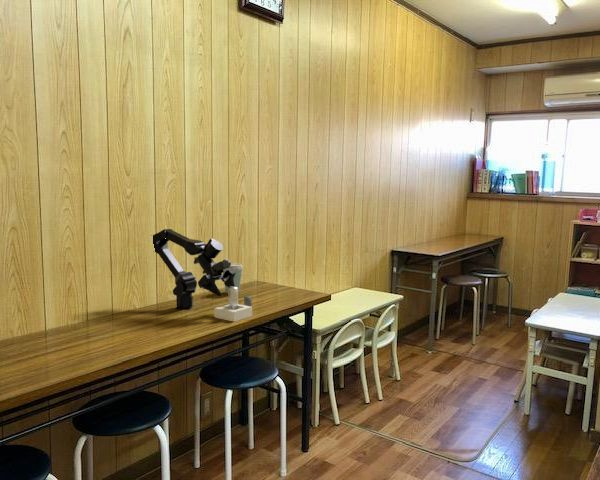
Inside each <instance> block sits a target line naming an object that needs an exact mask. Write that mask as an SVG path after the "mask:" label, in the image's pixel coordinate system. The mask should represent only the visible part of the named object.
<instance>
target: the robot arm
mask: <svg viewBox="0 0 600 480" xmlns="http://www.w3.org/2000/svg"><path fill="white" fill-rule="evenodd" d="M152 235H153V244H154V248H155V252H156V254H157V255H159V257H160V258H161V260H162V261H163V263H164V264H165V265H166V267H167V268H168V270H169V271H170V273H171V274H172V276H173V277H174V283H175V286H174V288H173V289H172V294H173V295H174V296H176V306H175V309H176V310H190V309H191V308H193V306H194V296H193V294H195V293H196V289H197V285H198V287H199V289H203V290H206V291H208V292H210V293H212V294H214V295H216V296H218V297H222V293H221V291H220V289H219V288H218V286H217V284H216V281H219V280H221V281H222V282H223V285H224V286H225V285H226V286H227V287H232V286H235V285H234V280H233V279H234V276H235V274H236V272H235V270H234V269H230V270H226V272H225V273H224V274H223V272H224V269H226V268H229V267H230V265H231V263H232V262H231V261H230V259H228V258H225V259H223V260H221V261H219V262H218V261H216V262H215V261H214V260H213V259H216V258H217V256H218V255H219V254H220V253H221V252H222V251H223V249H224V246H223V243H221V242H220V241H218V240H216V239H215V238H212V237H211V238H210V239H209V240H208V242H207V243H205V242H204V241H203V240H200V239H191V238H189V237H188V236H187V237H186V235H184V234H183V235H182V234H181V233H179V232H177V231H175V230H174V229H173V228H166V229H162V230H160V231H159V232H156V233H154V234H152ZM165 238H166V239H165ZM169 241H170V242H172V243H174V244H176V245H178V246H180V247H181V248H183V249H184V251H185V252H186V254H189V256H196V257H194V260H193V264H194V265H197V264H199V266H200V267H201V269H202V274H203V275H202V276H201V277H200V279H199V280H198V282H197V280H196V279H197V278H196V277H195V276H194V274H193V273H192V271H188V272H187V271H185V270H184V269H183V266H181V264H180V263H179V262H178V260H177V259H176V257H175V256H174V255H173V253H172V252H171V250H170V249H169V243H168V242H169ZM155 252H154V253H155Z"/></svg>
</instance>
